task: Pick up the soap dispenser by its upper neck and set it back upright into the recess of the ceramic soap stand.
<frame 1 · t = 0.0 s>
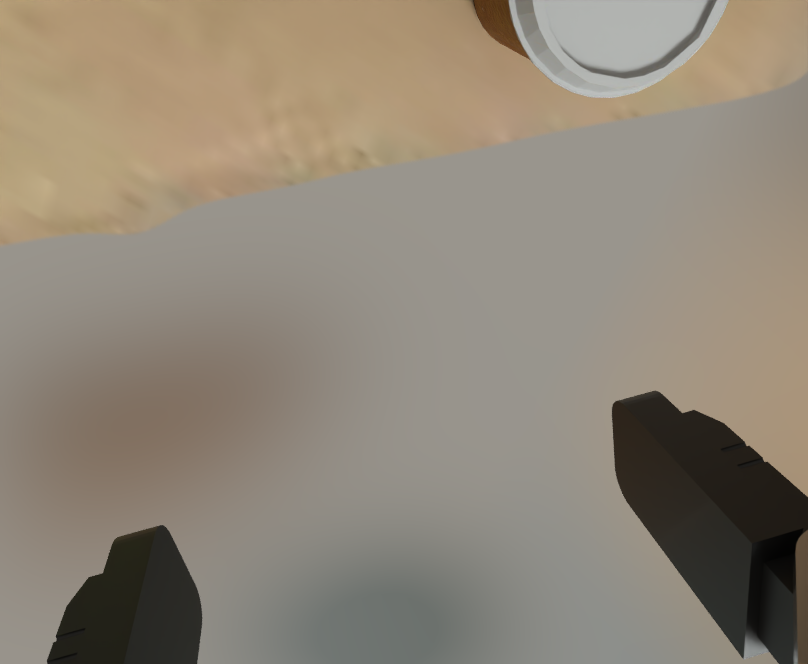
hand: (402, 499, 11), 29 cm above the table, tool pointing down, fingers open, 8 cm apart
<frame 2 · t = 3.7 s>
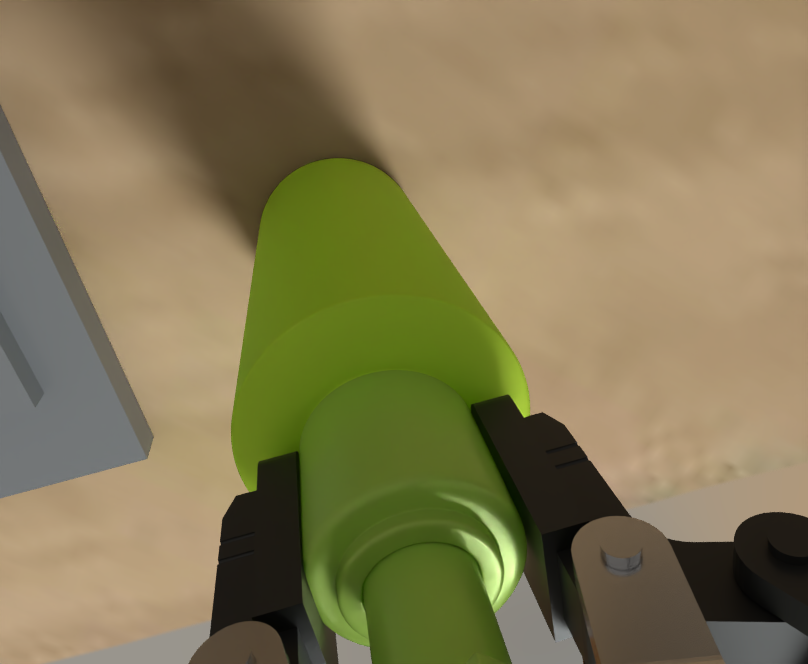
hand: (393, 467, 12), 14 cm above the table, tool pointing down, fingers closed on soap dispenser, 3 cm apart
soap dispenser: (331, 246, 24), on the table, touching gripper
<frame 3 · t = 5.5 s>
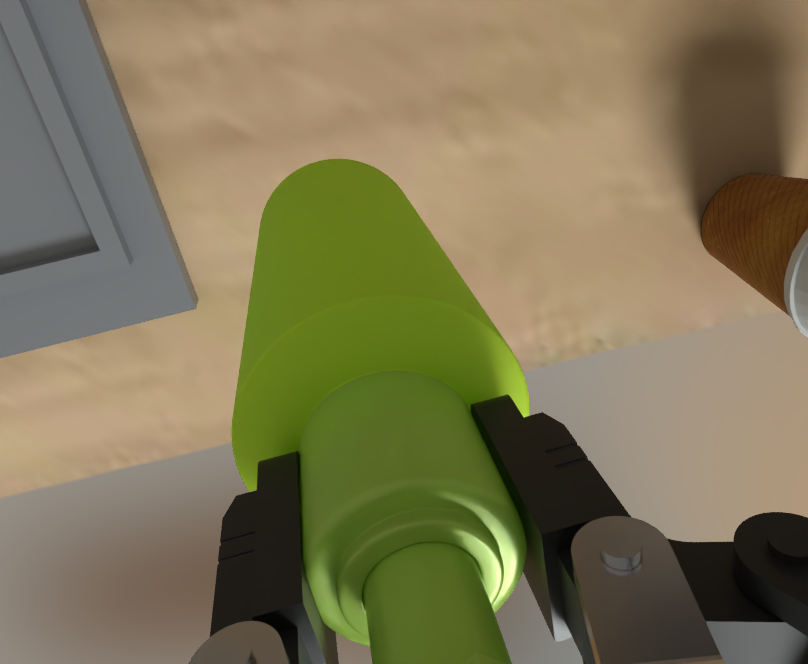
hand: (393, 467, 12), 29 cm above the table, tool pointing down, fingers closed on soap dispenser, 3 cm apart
soap dispenser: (331, 247, 24), point 15 cm above the table, touching gripper
disposable coffee cup: (740, 218, 45), on the table
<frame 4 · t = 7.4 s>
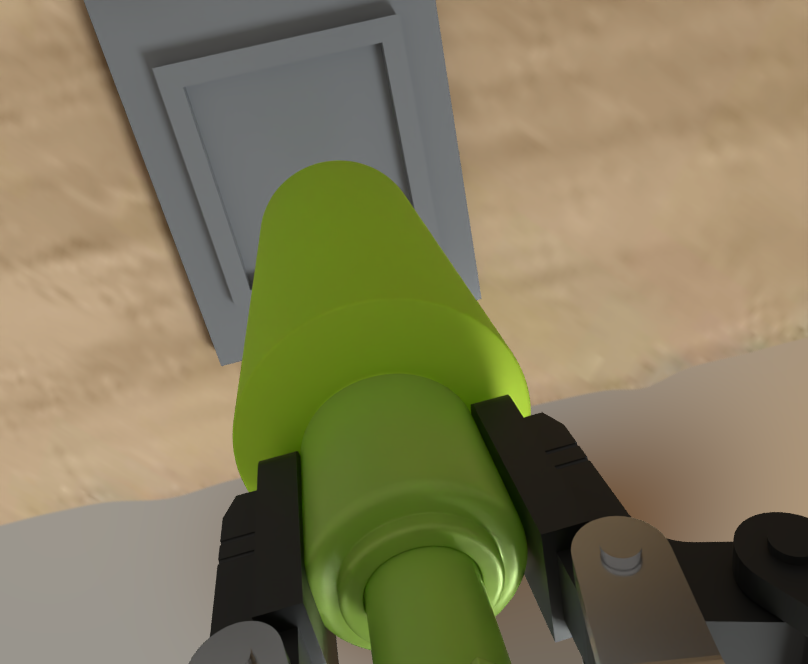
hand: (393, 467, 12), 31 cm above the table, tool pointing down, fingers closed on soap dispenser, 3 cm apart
soap dispenser: (332, 248, 24), point 17 cm above the table, touching gripper
soap stand: (310, 165, 40), on the table
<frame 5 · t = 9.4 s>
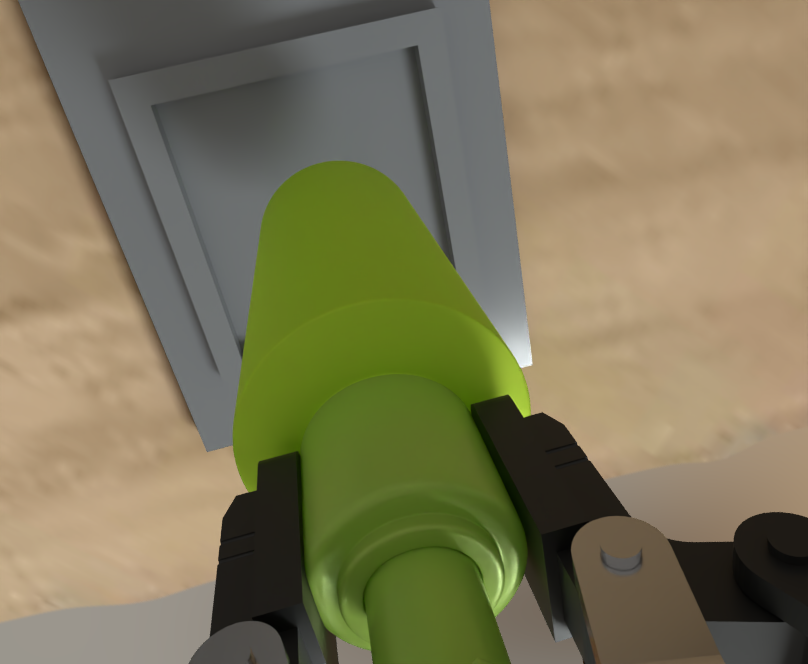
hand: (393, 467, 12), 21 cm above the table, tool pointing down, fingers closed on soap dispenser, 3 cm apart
soap dispenser: (331, 248, 24), point 7 cm above the table, touching gripper
soap stand: (319, 203, 31), on the table
when the fingers open (17 cm above the table, at t = 10.8 s): soap dispenser drops 2 cm, resting on soap stand.
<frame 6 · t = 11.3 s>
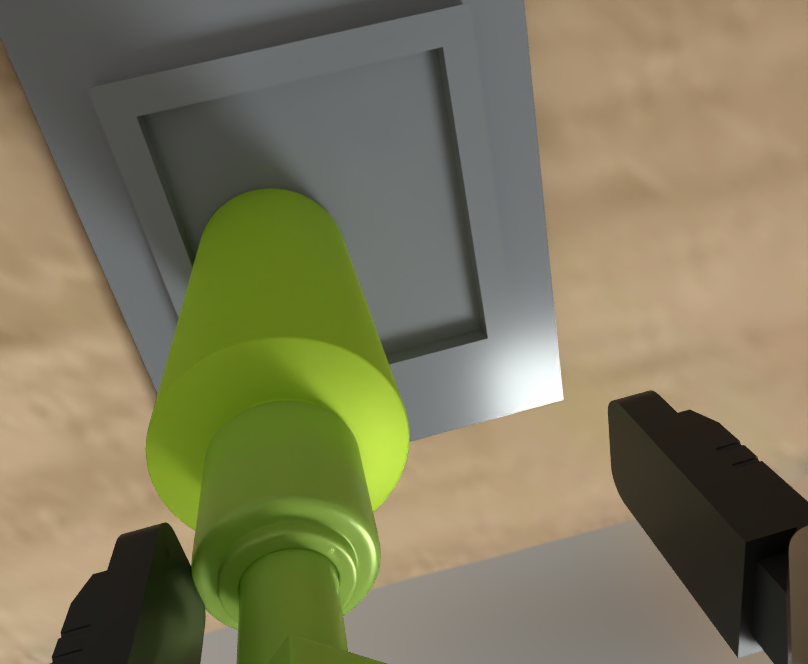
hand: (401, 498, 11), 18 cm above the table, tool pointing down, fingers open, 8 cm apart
soap dispenser: (267, 268, 26), point 1 cm above the table, touching gripper, soap stand
soap stand: (329, 224, 27), on the table
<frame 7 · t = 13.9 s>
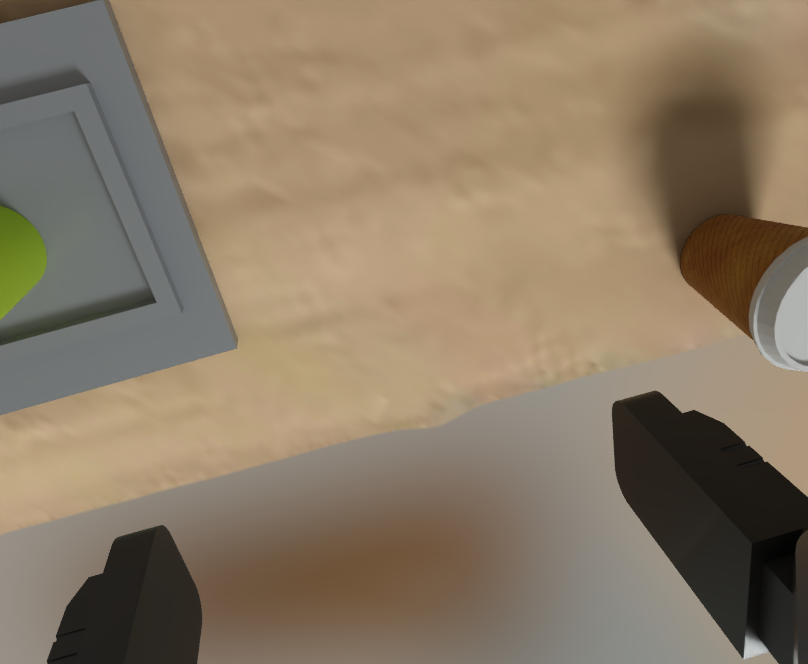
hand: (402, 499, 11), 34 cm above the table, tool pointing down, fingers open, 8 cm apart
disposable coffee cup: (715, 252, 50), on the table
soap stand: (40, 226, 40), on the table
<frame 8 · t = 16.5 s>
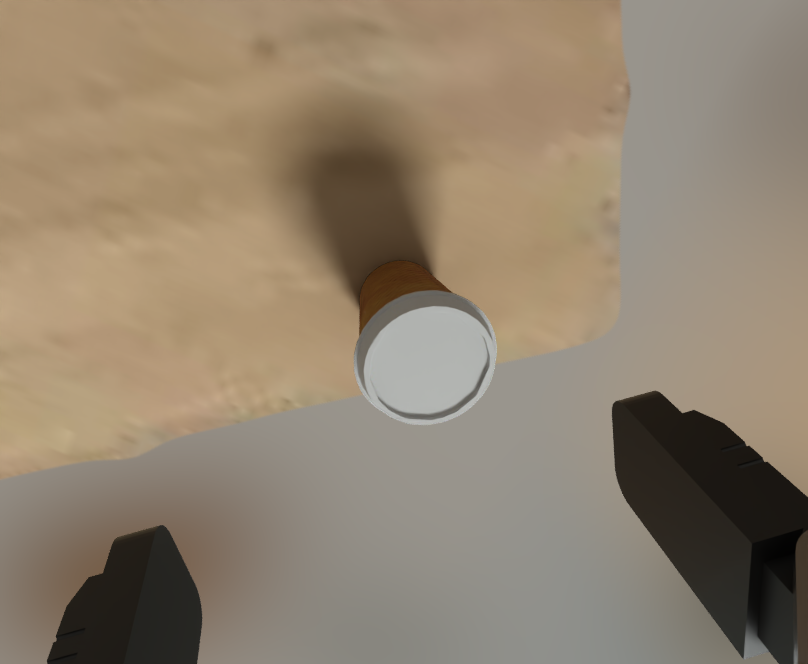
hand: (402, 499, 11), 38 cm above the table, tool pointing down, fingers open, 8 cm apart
disposable coffee cup: (398, 296, 52), on the table
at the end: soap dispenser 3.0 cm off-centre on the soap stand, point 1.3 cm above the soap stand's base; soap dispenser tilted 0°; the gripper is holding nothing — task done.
